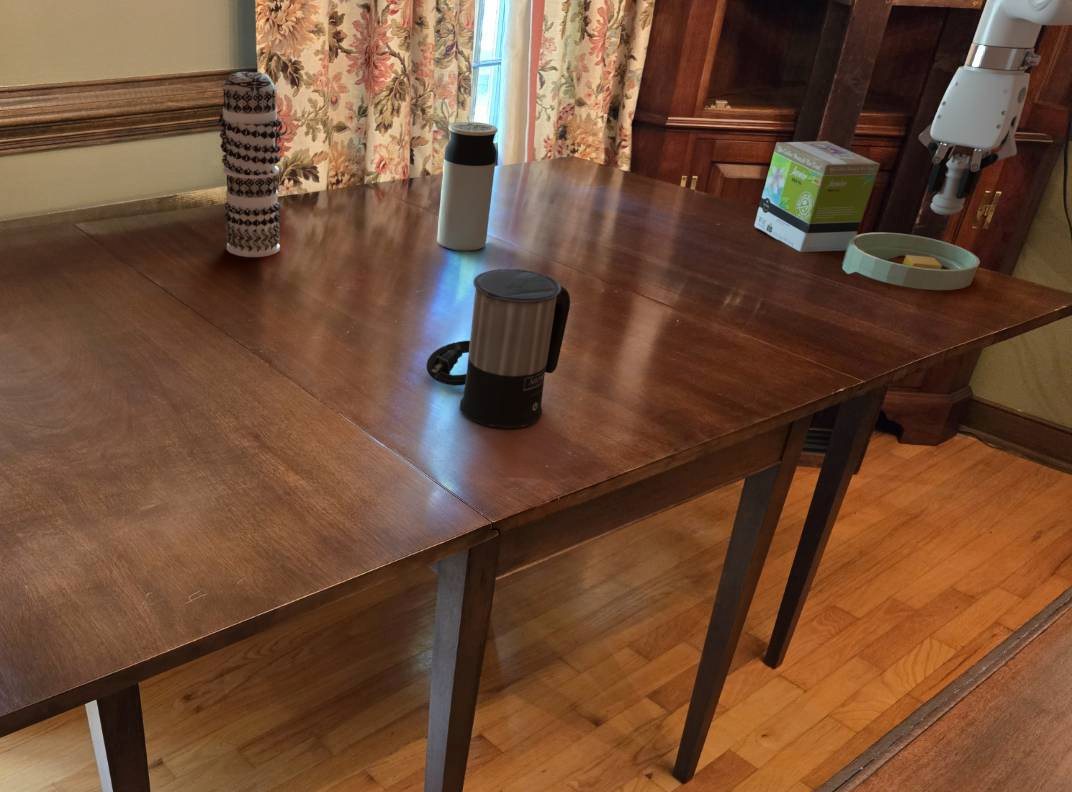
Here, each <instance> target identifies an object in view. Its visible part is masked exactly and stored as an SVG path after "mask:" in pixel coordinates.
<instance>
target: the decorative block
mask: <svg viewBox="0 0 1072 792" xmlns="http://www.w3.org/2000/svg"><path fill="white" fill-rule="evenodd" d="M902 265H907V266H912V267H919V268H926V269H940V270H942V268H943V266H942V265H941V264H940V263H939V262H938V261H937V260H936V259H935V258H934V257H924V256H913V255H906V256H904V260H903V262H902Z"/></svg>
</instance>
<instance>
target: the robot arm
mask: <svg viewBox="0 0 1072 792" xmlns="http://www.w3.org/2000/svg"><path fill="white" fill-rule="evenodd" d="M980 16H981V17H980V19H979V22H978V25H977V28H976V31H975V34H974V36H973V40H972V43H971V45H970V47H969V51H968V54H967V56H966V60H965V62H964V65H963V66H959V67H958V69H956V72H955V74H954V75H953V77H952V79H951V81H950V83H949V84H948V87H947V89H946V91H945V93H944V95H943V97H942V99H941V101H940V103H939V106H938V108H937V112H936V113H935V116H934V119H933V120H932V122H931V123H930V124H929V125H928V126H927V127H926V128H925V129H923V131H922V132H921V133H920V134H919V135H918V140H919V141H920V142H921V144H923V145H924V146H925V147H926V148H927V151H928V152H929V155H930V156H931V158H932V164H934V165H933V168H932V171H931V173H930V176H929V180H928V182H927V185H928V186H929V187H928V190H927V192H928V193H931V194H933V193H936V192H937V193H938V191H940V189H941V188H942V186H943V183H944V181H945V178H946V175H945V173H946V172H947V171H948V167H947V165H946V163H947V162H948V161H949V160H950V159H951V156H952V155H953V152H954V150H955V148H956V146H961V147H968V148H972V149H974V150H973V154H972V160H971V166H970V167H969V168H968V169H967V170H966V171H965V173H964V175H963V178H962V180H961V183H960V186H959V189H958V191H957V194H956V197H957V199H963V198H965V199H966V198H968V197H970V195H971V194H973V193H975V190H976V187H977V185H978V182H979V180H980V177H981V174H982V171H983V170H986V169H987V168H988V167H990V166H992V165H993V164H995V163H996V162H999V161H1002V160H1005V159H1008V158H1011V157H1013V156H1016V155H1017V152H1018V150H1017V145H1016V138H1015V134H1016V131H1017V129H1018V126H1019V123H1020V120H1021V116H1022V113H1023V111H1024V110H1023V109H1024V105H1025V103H1026V99H1027V94H1028V89H1029V86H1030V79H1031V73H1028V72H1025V71H1026V70H1027V69H1028V68H1029V67H1032V66H1034V67H1037V66H1038V65H1039V63H1040V62H1041V59H1042V55H1040V54H1037V53H1035V52H1034V51H1035V50H1036V49H1035V48H1034V47H1035V45H1036V42H1037V39H1038V37H1039V34H1040V31H1041V29H1042V26H1072V0H986V2H985V5H984V8H983V11H982V13H981V15H980ZM997 148H1001V149H1000V150H999V151H996V152H995V151H994V152H992V150H995V149H997Z"/></svg>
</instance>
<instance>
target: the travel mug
mask: <svg viewBox="0 0 1072 792" xmlns="http://www.w3.org/2000/svg"><path fill="white" fill-rule="evenodd" d="M448 130H449V133H450V134H449V135H450V139H449V140H448V142H447V144H446V145H445V148H444V159H443V169H442V181H441V191H440V203H439V215H438V225H437V226H438V227H437V237H436V242H437V243H438V244H439V245H441V246H442V247H444V248H446V249H448V250H452V251H461V252H462V251H463V252H470V251H477V250H480V249H482V248H484V247H485V246H487V245H486V244H487V239H488V228H489V220H490V211H491V202H492V194H493V186H494V178H495V168H496V161H497V148H496V144H495V143H494V140H495V136H496V134H497V133H498V128H497V127H496V126H495V125H492V124H489V123H485V122H477V121H457V122H452V123H449V125H448Z"/></svg>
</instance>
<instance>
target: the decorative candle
mask: <svg viewBox="0 0 1072 792" xmlns="http://www.w3.org/2000/svg"><path fill="white" fill-rule="evenodd" d="M220 87H221V88H222V91H223V108H222V114H220V115H219V118H218V119H217V121H218V123H219V126H221V128H222V129H221V130H220V133H219V138H220V139H221V144H220V149H221V151H222V152H223V153H224V154H223V155H222V159H221V162H222V164H223V166H224V167H223V173H224V174H225V175H226V191H225V197H226V198H225V199H226V202H225V203H224V205H223V206H224V208H225V210H226V213H225V214H224V218H225V220H227V221H228V222H227V223H226V224H225V225H224V229H225V231H226V235H225V240H226V250H227V252H229V253H230V254H232V255H235V256H238V257H244V258H263V257H269V256H272V255H275V254H277V253H279V252H280V249H281V247H280V246H281V245H280V244H279V243H280V240H281V236H280V231H281V226H280V223H279V222H278V221H279V220H280V218H281V215H280V213H279V210H280V209H281V204H280V203H279V202H278V200H279V199H278V197H279V196H278V193H279V192H278V190H277V176H278V175H279V174H280V168H279V166H277V164H278V163H280V162H281V157H280V156H279V155H277V153H279V152H280V151H281V149H282V148H281V146H280V145H279V144H277V143H276V140H278V139H279V138H280V137H281V136H282V132H281V131H280V130H279V129H278V128H279V127H281V126H282V123H283V121H282V120H281V119H279V118H278V109H277V107H276V89H277V88H278V85H276V84H274V83H273V81H272V79H271V77H270V76H269V75H268V74H265V73H263V72H256V71H238V72H233V73H230V74H229V75H228V77H227V79H226V80H225V82H224V83H222V84H221V85H220Z"/></svg>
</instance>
